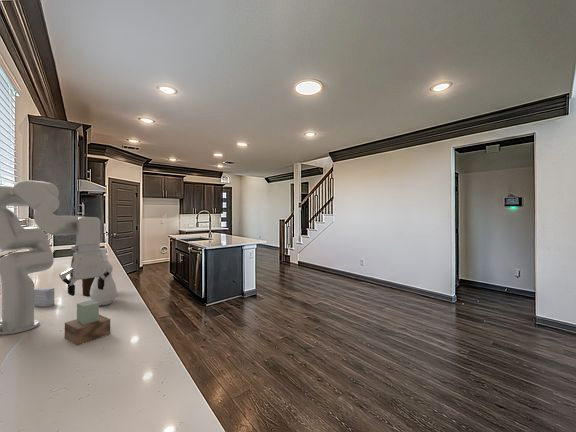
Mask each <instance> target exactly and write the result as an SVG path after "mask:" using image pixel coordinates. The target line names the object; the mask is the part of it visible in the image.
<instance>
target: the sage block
mask: <svg viewBox="0 0 576 432" xmlns="http://www.w3.org/2000/svg"><path fill="white" fill-rule="evenodd" d="M99 309H100V306H99V303H98V302H96V301H93V300H91V299H90V300H86V301H85V300H84V301H82V302H78V303H76V319H77V322H79V323H81V324H83V325H85V324H88V323H92V322H95V321H98V320H99V315H100V310H99Z"/></svg>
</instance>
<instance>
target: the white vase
mask: <svg viewBox="0 0 576 432" xmlns="http://www.w3.org/2000/svg"><path fill="white" fill-rule="evenodd" d="M108 249H109V248H108V247H100V251H102V253H103V259H104V265H105V266H108V267H111V268H112V270H111V271H110V273H109V275H108V276H107V277H106V279H105V280H104V287H103V290H100V289H98V279H99V277H95V279H94V281H93V283H92V286H91V289H90V296H89V297H90V300H93V301H96V302H98V303H99V307H100V306H101V305H102V306H107V305H110V304H112V303H113V302H114V300H115V298H116V294H117V286H116V283H115V281H114V279H113V276H112V273H113V269H114V267H113V265H112V264H111V263H110V262H109V260H108V259H109V255H108V254H107V250H108ZM105 272H106V269H104V273H105ZM102 306H101V307H102Z"/></svg>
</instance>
